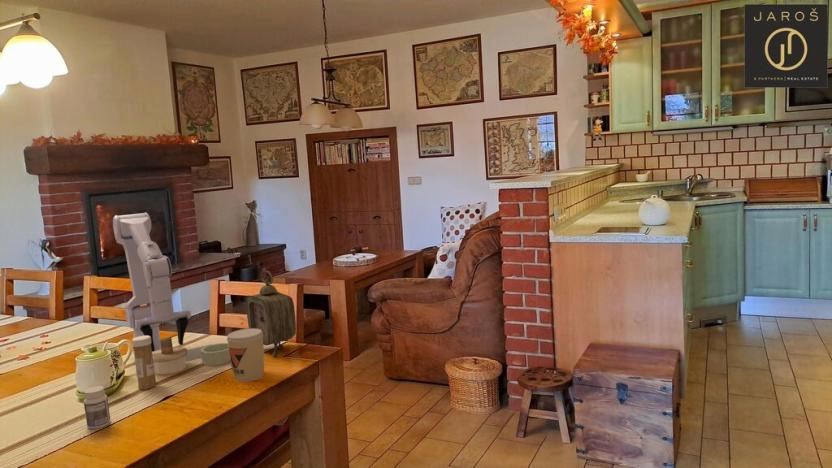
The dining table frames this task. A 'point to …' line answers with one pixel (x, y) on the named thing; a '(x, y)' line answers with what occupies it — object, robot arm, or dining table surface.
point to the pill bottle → (96, 407)
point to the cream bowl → (170, 366)
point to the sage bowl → (215, 354)
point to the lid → (168, 351)
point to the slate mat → (194, 353)
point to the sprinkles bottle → (144, 362)
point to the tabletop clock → (271, 314)
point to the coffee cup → (246, 354)
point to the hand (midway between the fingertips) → (166, 347)
